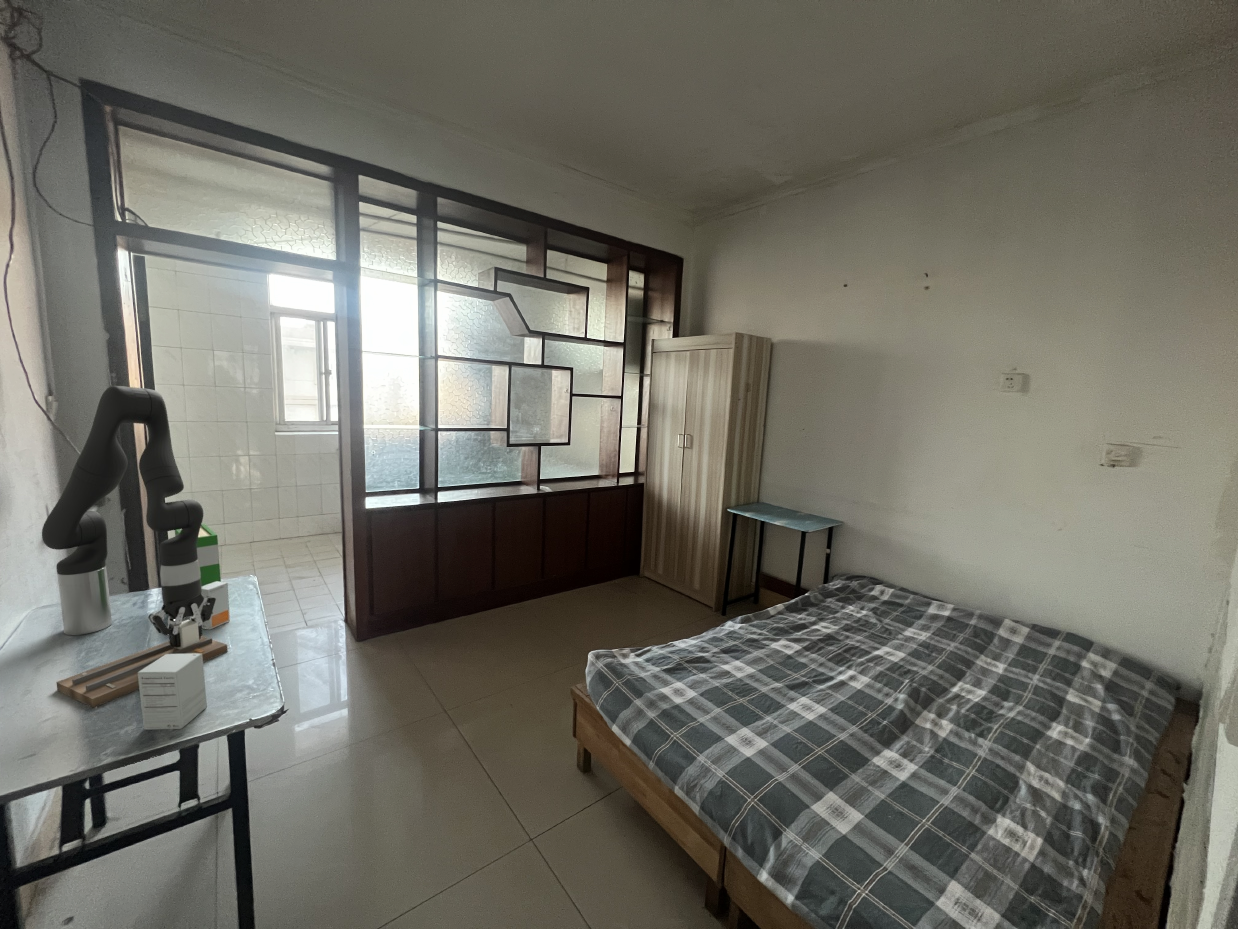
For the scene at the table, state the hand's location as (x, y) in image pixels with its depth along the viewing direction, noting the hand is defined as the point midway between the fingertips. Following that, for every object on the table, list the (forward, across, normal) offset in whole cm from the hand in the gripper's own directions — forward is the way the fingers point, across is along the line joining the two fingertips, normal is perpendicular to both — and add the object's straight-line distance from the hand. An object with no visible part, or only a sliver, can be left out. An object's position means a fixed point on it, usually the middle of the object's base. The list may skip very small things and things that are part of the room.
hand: (186, 642), depth 127 cm
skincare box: (+3, -13, -12) cm, 18 cm away
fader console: (+3, +8, 0) cm, 9 cm away
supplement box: (+3, +16, +27) cm, 32 cm away
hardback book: (+3, -19, -30) cm, 36 cm away
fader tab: (+1, 0, 0) cm, 1 cm away
